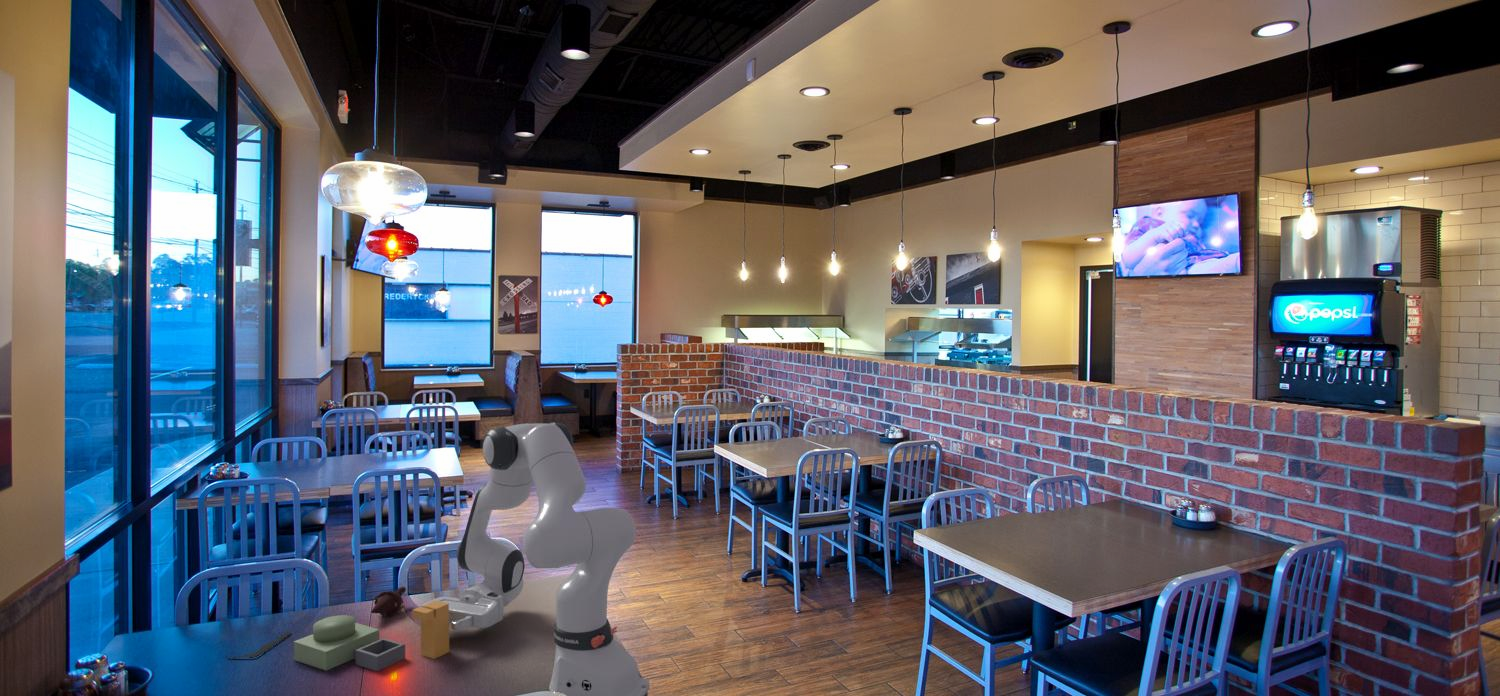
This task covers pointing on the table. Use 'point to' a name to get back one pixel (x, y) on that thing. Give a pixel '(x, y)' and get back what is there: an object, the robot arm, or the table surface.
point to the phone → (266, 646)
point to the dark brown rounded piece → (388, 602)
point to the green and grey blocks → (346, 645)
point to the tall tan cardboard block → (433, 628)
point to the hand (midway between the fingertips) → (438, 624)
